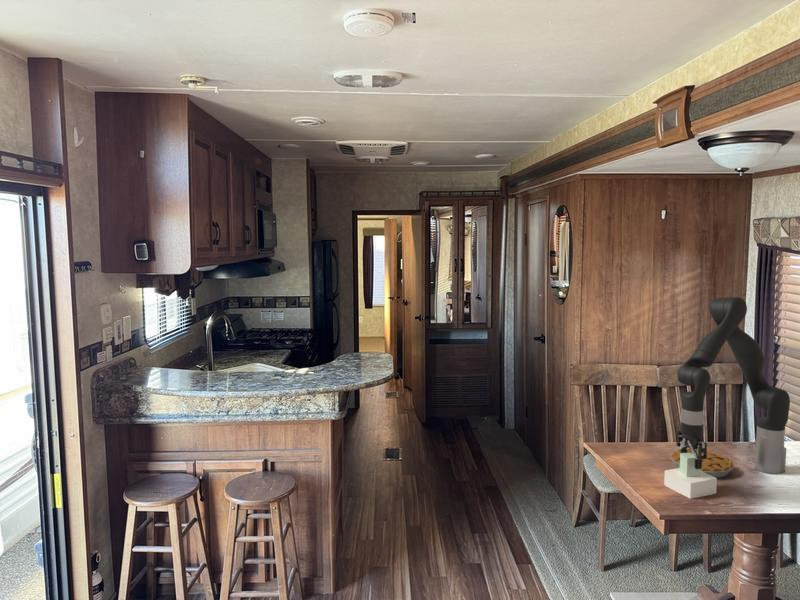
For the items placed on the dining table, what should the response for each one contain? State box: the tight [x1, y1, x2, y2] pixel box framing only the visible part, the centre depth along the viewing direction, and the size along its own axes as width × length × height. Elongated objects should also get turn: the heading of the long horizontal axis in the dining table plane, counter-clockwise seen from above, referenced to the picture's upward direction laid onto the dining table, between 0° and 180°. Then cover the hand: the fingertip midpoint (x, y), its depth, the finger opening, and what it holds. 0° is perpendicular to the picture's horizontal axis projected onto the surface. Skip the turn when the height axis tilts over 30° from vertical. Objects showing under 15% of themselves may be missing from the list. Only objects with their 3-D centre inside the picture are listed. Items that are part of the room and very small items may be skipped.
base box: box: [663, 467, 718, 500], centre depth 206 cm, size 12×12×6 cm
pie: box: [670, 448, 735, 479], centre depth 225 cm, size 22×22×5 cm
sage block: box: [680, 453, 701, 477], centre depth 206 cm, size 5×5×7 cm
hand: (690, 464), depth 206 cm, fingers open, 8 cm apart
